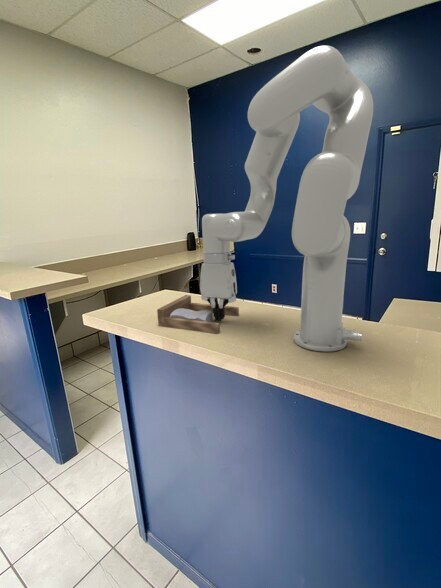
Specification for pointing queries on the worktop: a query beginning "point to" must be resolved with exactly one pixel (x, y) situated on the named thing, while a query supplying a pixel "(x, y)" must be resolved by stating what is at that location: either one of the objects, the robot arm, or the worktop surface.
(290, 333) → the worktop surface
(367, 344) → the worktop surface
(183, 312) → the stone block
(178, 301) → the brown u-shaped frame
